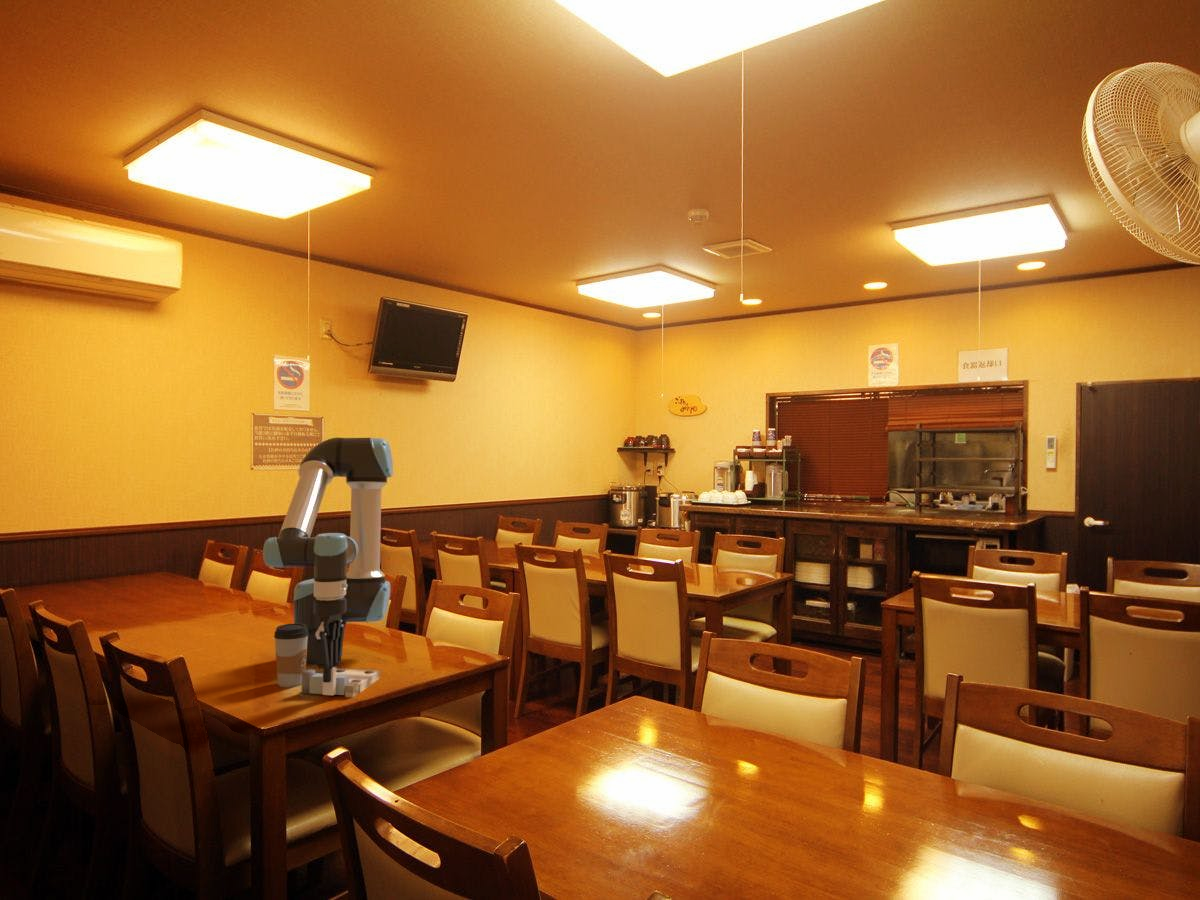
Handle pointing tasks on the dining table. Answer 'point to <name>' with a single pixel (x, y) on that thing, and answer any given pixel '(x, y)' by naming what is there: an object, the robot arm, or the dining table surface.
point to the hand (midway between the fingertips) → (329, 694)
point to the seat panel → (355, 681)
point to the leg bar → (321, 682)
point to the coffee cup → (291, 653)
